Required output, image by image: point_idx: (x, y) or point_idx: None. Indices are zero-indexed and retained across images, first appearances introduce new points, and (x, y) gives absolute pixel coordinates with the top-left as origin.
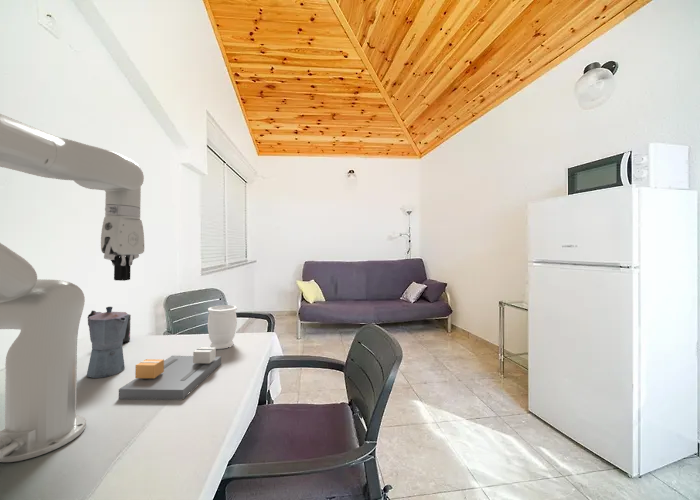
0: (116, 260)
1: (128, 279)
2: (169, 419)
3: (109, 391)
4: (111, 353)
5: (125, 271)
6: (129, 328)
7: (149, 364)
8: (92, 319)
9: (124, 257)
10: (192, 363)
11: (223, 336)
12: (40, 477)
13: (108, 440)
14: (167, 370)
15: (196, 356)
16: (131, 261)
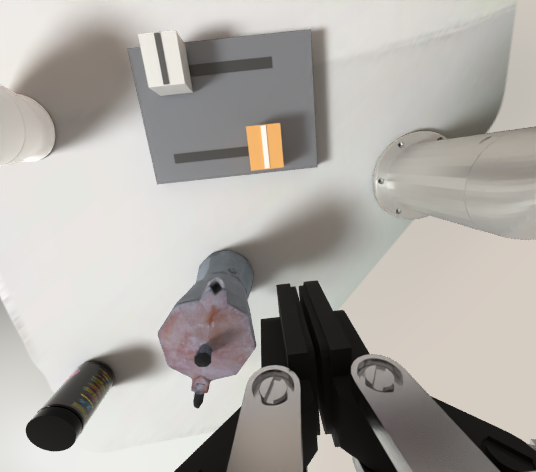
0: (495, 429)
1: (289, 284)
2: (368, 18)
3: (291, 205)
4: (235, 270)
5: (334, 316)
6: (64, 386)
7: (277, 138)
8: (253, 345)
9: (423, 462)
10: (187, 100)
11: (15, 98)
12: (481, 102)
13: (418, 80)
14: (232, 133)
15: (187, 77)
16: (263, 407)
